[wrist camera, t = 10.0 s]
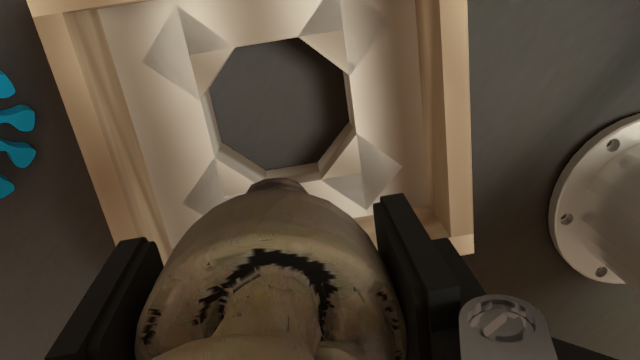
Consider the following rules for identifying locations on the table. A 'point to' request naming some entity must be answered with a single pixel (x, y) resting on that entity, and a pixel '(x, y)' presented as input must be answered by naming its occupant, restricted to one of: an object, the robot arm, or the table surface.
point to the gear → (23, 121)
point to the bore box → (200, 123)
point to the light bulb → (273, 286)
